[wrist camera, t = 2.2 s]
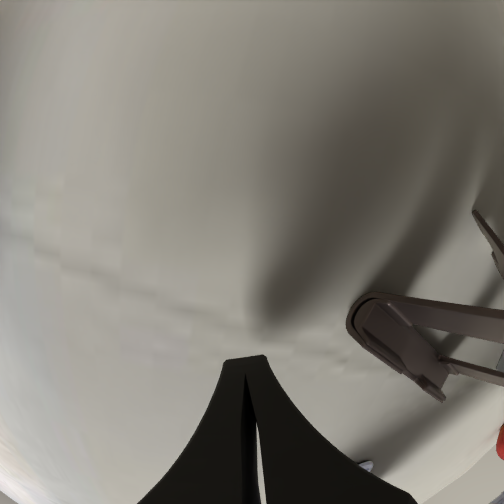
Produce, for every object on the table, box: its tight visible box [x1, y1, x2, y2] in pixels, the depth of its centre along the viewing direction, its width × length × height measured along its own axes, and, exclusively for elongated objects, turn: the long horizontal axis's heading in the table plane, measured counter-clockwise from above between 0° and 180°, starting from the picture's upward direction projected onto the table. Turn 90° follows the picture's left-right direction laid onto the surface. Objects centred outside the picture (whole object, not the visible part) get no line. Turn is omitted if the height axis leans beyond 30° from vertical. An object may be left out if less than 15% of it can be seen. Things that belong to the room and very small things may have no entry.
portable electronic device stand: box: [346, 210, 504, 403], centre depth 7 cm, size 9×8×8 cm
